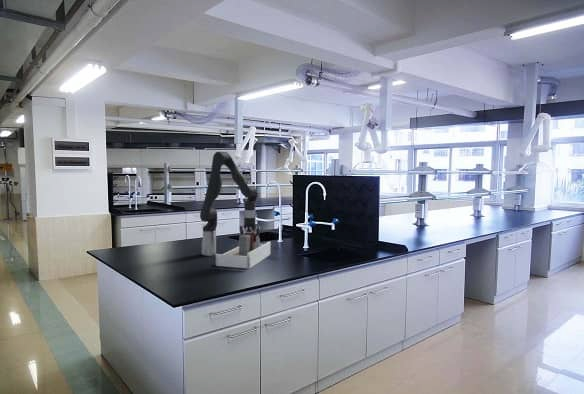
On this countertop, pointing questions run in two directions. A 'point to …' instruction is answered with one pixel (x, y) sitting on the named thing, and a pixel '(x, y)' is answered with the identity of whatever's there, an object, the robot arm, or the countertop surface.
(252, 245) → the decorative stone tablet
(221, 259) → the white open box
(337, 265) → the countertop surface
